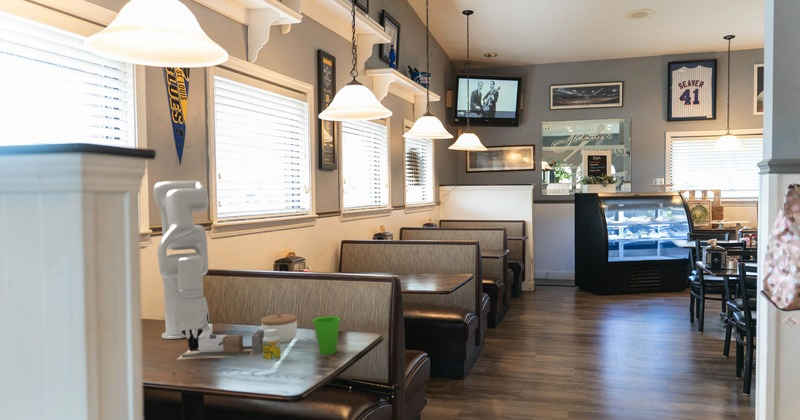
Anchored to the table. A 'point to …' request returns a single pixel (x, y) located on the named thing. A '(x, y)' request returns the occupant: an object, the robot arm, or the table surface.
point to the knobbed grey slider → (211, 343)
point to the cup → (327, 334)
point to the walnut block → (233, 343)
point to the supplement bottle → (271, 344)
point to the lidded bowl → (281, 325)
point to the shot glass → (206, 331)
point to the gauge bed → (246, 352)
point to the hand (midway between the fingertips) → (193, 349)
